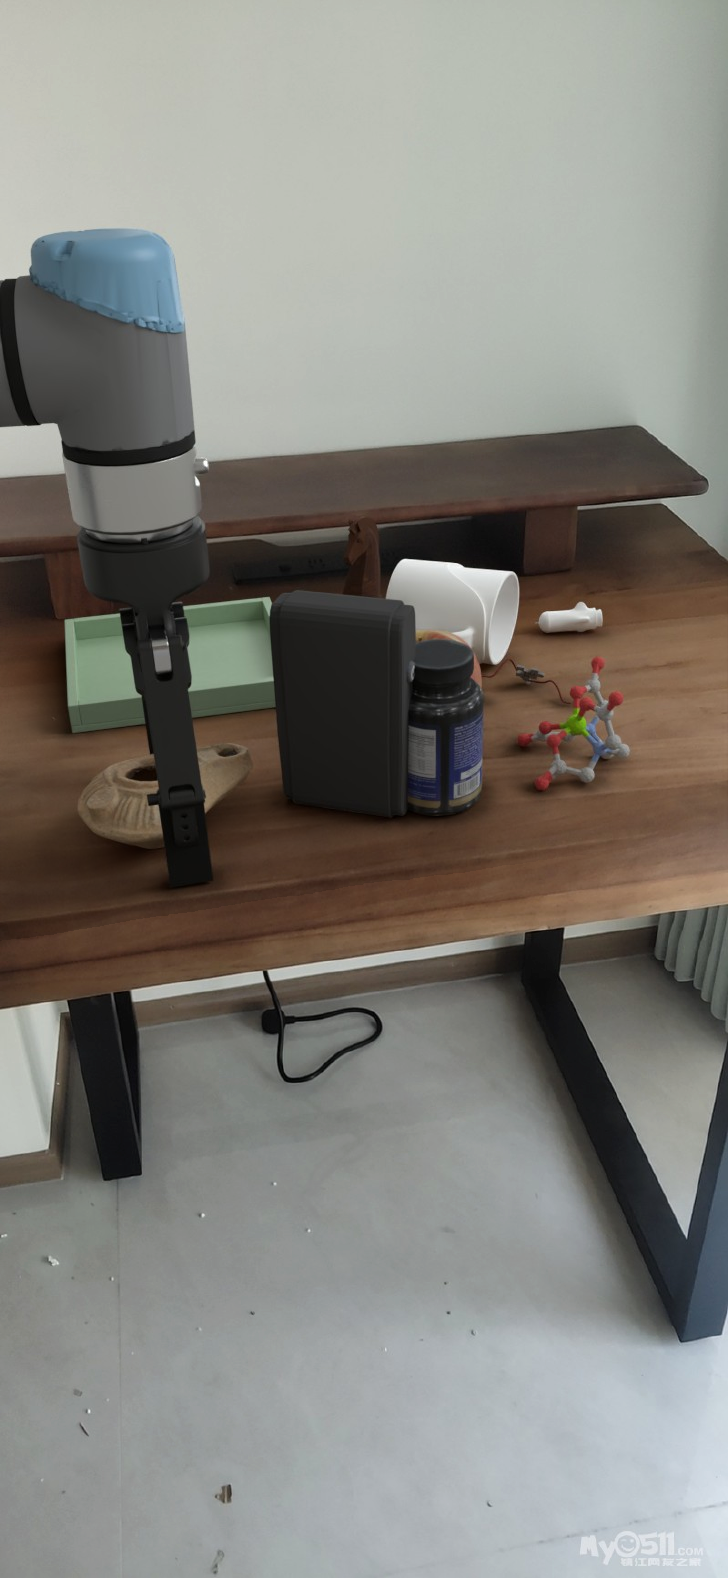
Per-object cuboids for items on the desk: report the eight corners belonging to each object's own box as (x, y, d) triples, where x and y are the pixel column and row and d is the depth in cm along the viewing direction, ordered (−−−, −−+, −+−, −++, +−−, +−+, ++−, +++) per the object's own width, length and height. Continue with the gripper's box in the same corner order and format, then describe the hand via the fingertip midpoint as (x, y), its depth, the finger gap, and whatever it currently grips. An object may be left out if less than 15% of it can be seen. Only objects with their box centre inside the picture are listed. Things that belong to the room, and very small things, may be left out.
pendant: (479, 648, 96) (478, 663, 99) (468, 697, 95) (467, 710, 97) (577, 667, 95) (574, 681, 98) (567, 716, 94) (564, 729, 96)
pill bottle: (469, 769, 86) (473, 630, 80) (491, 814, 81) (496, 668, 75) (386, 779, 85) (384, 638, 79) (403, 824, 80) (401, 677, 74)
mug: (417, 626, 108) (417, 542, 104) (517, 639, 105) (521, 553, 101) (370, 681, 98) (368, 591, 94) (478, 697, 95) (481, 605, 91)
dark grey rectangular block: (421, 795, 83) (422, 595, 75) (406, 826, 80) (404, 620, 72) (299, 778, 85) (287, 582, 78) (279, 806, 82) (265, 605, 74)
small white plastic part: (539, 620, 109) (545, 588, 108) (602, 636, 107) (609, 603, 106) (527, 630, 106) (534, 597, 105) (592, 647, 104) (599, 613, 103)
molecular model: (608, 735, 90) (617, 645, 86) (638, 789, 83) (649, 694, 79) (514, 740, 89) (519, 650, 86) (536, 795, 83) (543, 700, 79)
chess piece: (327, 626, 109) (322, 521, 104) (358, 608, 112) (355, 505, 107) (368, 636, 107) (365, 529, 101) (398, 617, 110) (397, 513, 105)
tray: (72, 733, 92) (67, 706, 91) (68, 643, 107) (64, 619, 106) (306, 703, 96) (304, 676, 94) (271, 620, 110) (269, 596, 109)
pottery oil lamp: (290, 807, 81) (273, 753, 75) (143, 908, 79) (113, 861, 72) (221, 725, 85) (199, 668, 79) (79, 819, 83) (45, 767, 76)
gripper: (231, 590, 59) (264, 924, 71) (183, 458, 80) (213, 732, 91) (80, 607, 58) (137, 945, 69) (71, 469, 79) (115, 745, 90)
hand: (181, 825), depth 80 cm, fingers open, 13 cm apart
